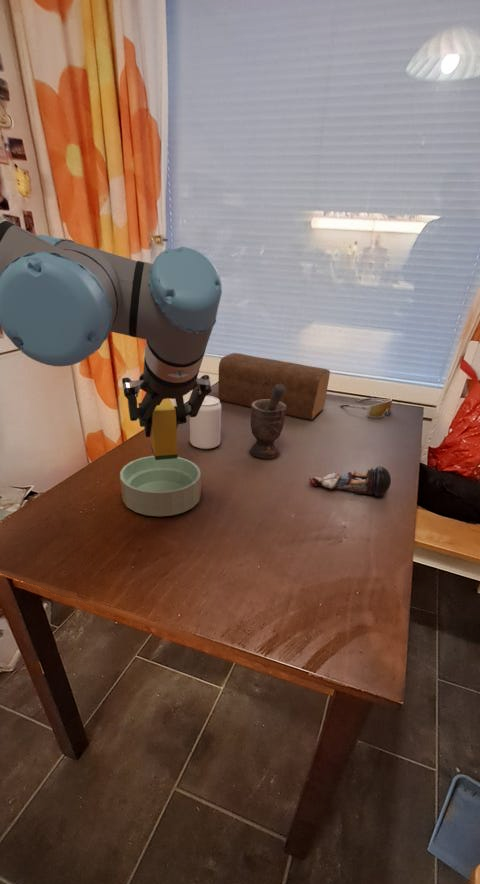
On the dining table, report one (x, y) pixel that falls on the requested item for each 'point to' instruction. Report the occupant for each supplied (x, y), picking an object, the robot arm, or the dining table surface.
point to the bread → (273, 383)
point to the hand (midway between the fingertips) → (159, 429)
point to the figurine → (357, 481)
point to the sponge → (164, 431)
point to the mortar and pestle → (267, 423)
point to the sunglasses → (375, 407)
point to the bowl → (160, 486)
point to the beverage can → (206, 424)
